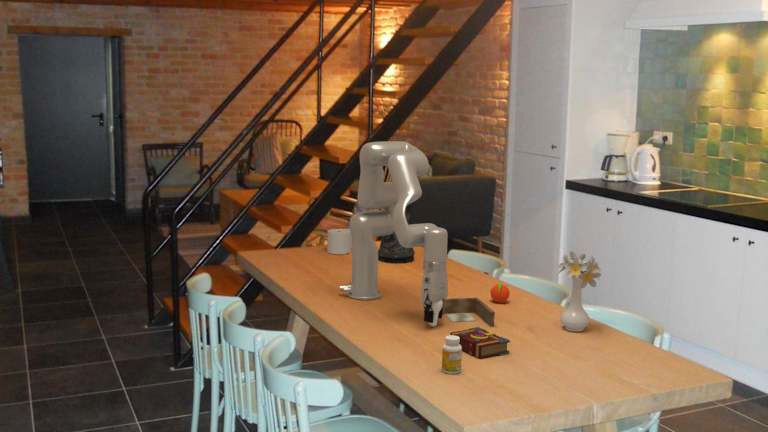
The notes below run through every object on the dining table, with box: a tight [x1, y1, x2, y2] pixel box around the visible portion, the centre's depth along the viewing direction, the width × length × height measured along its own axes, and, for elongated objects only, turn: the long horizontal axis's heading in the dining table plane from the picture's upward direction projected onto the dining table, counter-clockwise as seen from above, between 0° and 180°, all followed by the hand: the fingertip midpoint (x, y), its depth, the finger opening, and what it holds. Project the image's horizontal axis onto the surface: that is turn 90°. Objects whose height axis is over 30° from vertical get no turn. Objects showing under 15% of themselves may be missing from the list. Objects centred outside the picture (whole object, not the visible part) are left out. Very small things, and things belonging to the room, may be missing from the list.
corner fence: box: [442, 297, 496, 328], centre depth 283 cm, size 18×18×5 cm
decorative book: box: [449, 326, 511, 360], centre depth 254 cm, size 11×16×5 cm
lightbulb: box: [427, 299, 443, 328], centre depth 274 cm, size 6×6×11 cm
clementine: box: [490, 282, 510, 304], centre depth 306 cm, size 8×7×7 cm
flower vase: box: [556, 250, 602, 333], centre depth 273 cm, size 13×18×25 cm
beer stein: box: [377, 209, 415, 265], centre depth 372 cm, size 16×19×25 cm
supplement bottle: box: [441, 334, 463, 375], centre depth 234 cm, size 5×5×10 cm
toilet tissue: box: [326, 228, 352, 255], centre depth 387 cm, size 11×12×10 cm
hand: (433, 319), depth 275 cm, fingers closed on lightbulb, 5 cm apart
